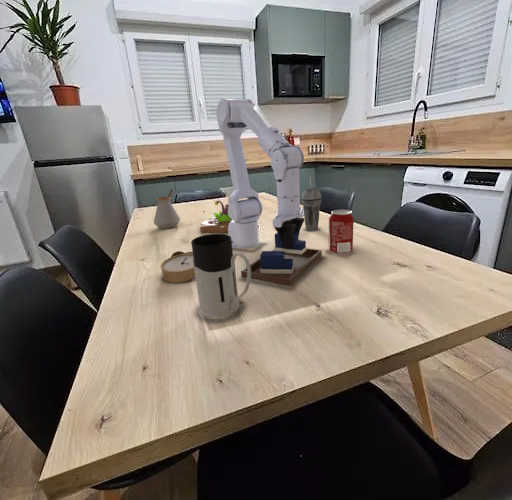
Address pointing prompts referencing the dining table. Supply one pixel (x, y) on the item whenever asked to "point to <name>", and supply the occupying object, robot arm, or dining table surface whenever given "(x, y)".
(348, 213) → the soda can
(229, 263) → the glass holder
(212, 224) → the plant
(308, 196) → the beverage cup
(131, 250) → the dining table surface
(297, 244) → the trainer
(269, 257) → the trainer
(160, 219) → the coffee pot
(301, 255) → the shoe tray
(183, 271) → the alarm clock
